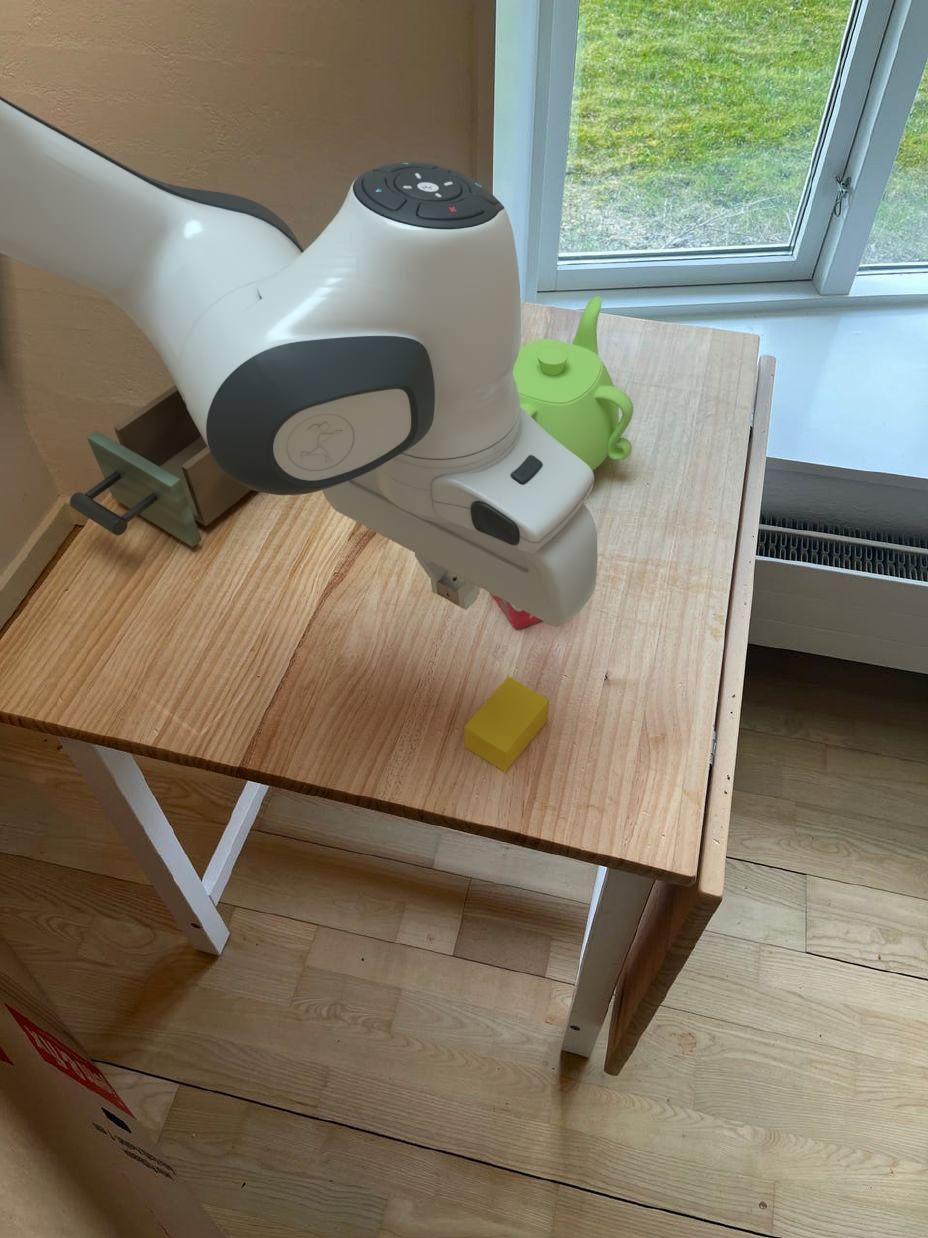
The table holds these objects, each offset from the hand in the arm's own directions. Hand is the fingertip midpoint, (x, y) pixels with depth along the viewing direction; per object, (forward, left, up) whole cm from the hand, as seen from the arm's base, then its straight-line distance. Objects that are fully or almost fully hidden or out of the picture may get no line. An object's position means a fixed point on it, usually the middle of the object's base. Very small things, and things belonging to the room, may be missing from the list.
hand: (455, 595), depth 67 cm
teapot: (+22, +24, -14) cm, 36 cm away
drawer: (-13, +34, -13) cm, 39 cm away
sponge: (+2, -4, -14) cm, 15 cm away
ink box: (+10, +9, -14) cm, 20 cm away
